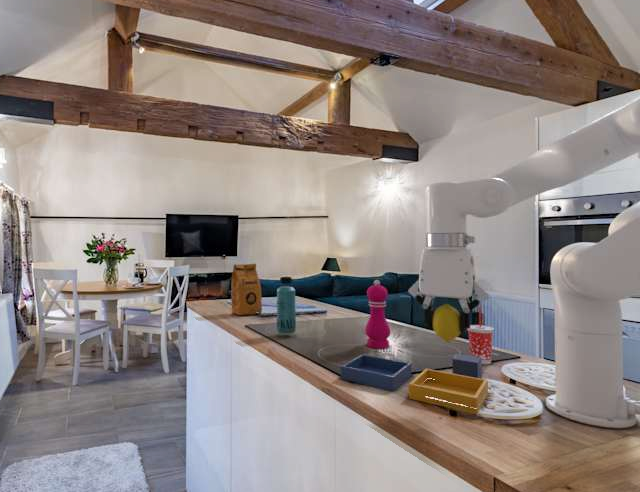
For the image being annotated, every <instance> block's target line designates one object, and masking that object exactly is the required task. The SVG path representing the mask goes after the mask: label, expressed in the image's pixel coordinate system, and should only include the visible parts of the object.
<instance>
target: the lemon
mask: <svg viewBox="0 0 640 492" xmlns="http://www.w3.org/2000/svg"><path fill="white" fill-rule="evenodd" d="M432 325H433V327H432V329H433V331H434V333H435V335H436V336H437V337H439V338H440V339H442V340H443V341H444V342H445V343H450V342H451V341H452V340H454V339H457V338H458V337H459V336H460V335H461V333H462V332H460V312H459V311H458V310H457V308H455V307H453V306H452V305H450V304H448V303H444V304H443V305H440V306H438V307H437V308H435V312H434V314H433V319H432Z"/></svg>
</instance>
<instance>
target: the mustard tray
mask: <svg viewBox="0 0 640 492" xmlns="http://www.w3.org/2000/svg"><path fill="white" fill-rule="evenodd" d="M427 378H432V379H427ZM426 379H427V380H426ZM433 379H435V380H433ZM425 380H426V381H425ZM424 381H425V382H424ZM423 382H424V383H423ZM422 383H423V384H422ZM421 384H422V385H421ZM488 395H489V380H488V379H483V378H482V379H479V378H474V377H468V376H463V375H458V374H453V372H446V371H440V370H436V369H431V368H425V369H424V370H423V371H421V373H419V374H418V375H417V376H416V377H414V379H413V380H411V381H410V382H409V383H408V399H410V400H415V401H418V402H423V403H427V404H431V405H435V406H439V407H444V408H449V409H452V410H457V411H461V412H465V413H469V414H472V415H473V414H474V415H478V413H479V412H480V410H481V408H482V406H483V404H484V403H485V401H486V399H487V397H488ZM425 396H428V397H434V398H438V399H442V400H446V401H448V402H452V403H458V404H463V405H466V406H470V407H474V408H477V407H478V408H477V409H474V408H470V407H465V406H461V405H456V404H452V403H448V402H443V401H439V400H435V399H430V398H426V397H425ZM483 397H484V398H483ZM480 402H481V403H480ZM479 404H480V405H479Z"/></svg>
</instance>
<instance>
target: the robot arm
mask: <svg viewBox="0 0 640 492" xmlns="http://www.w3.org/2000/svg"><path fill="white" fill-rule="evenodd" d="M639 153H640V96H639V97H637V98H635V99H633V100H631V101H630V102H628V103H627V104H625V105H623V106H621V107H619V108H617V109H615V110H613V111H611V112H609V113H607V114H605V115H603V116H601V117H599V118H598V119H595V120H594V121H592V122H589V123H587V124H585V125H583V126H581V127H579V128H578V129H576V130H573V131H571V132H569V133H567V134H565V135H563V136H561V137H559V138H557V139H555V140H553V141H551V142H550V143H547V144H546V145H544V146H542V147H541V148H540V149H538V150H536V151H535V152H534V153H532V154H531V155H529V156H528V157H526V158H525V159H523V160H521V161H519V162H518V163H516V164H513V165H512V166H510V167H508V168H507V169H504V170H502V171H501V172H499V173H496V174H495V175H492V176H490V177H486V178H485V177H484V178H480V179H475V180H468V181H462V182H461V181H460V182H458V181H444V182H443V181H441V182H434V183H430V184H429V185H427V187H426V188H425V193H424V195H425V197H424V200H425V201H424V203H425V205H424V206H425V248H422V250H421V251H422V252H421V257H420V264H419V273H418V274H419V275H418V277H419V278H418V279H417V280H416V281H415V282H414V283H413V284H412V285H411V286H410V288H408V289H407V292H408V293H409V294H410V295H411V296H412V297H413V298H414V299H415V300H416V301H417V302H418V304H420V305H421V307H422V308H423V310H424V323H425V324H426V328H427V329H433V325H432V319H433V314H434V312H435V310H436V308H434V306H433V305H434V304H433V303H434V302H435V299H436V297H437V298H451V299H458V302H459V304H460V307H461V312H459V314H460V332H461V333H462V334H465V333H466V332H468V330H467V328H470V325H471V312H472V311H473V310H474V309H475V308H477V307H478V306H479V305H480V304H482V303H484V301H486V300H488V299H489V298H490V294H489V293H488V292H487V290H485V289H484V288H483V287H482V286H481V285H480V284H479V282H477V279H476V268H475V261H474V260H475V259H474V256H473V255H474V254H473V250H472V249H471V248H468V245H470V244H475V242H476V239H475V238H476V237H475V236H471V235H468V233H467V215H471V216H473V217H475V218H479V219H480V218H481V219H485V218H491V217H496V216H499V215H502V214H503V213H505V212H507V211H508V209H509V208H511V207H514V206H516V205H518V204H519V203H522V202H524V201H526V200H529V199H531V198H533V197H536V196H538V195H540V194H543V193H546V192H548V191H552V190H556V189H557V188H558V189H560V188H561V187H565V186H568V185H570V184H573V183H574V182H577V181H580V180H582V179H584V178H586V177H588V176H590V175H593V174H594V173H596V172H599V171H601V170H603V169H605V168H607V167H609V166H612V165H615V164H616V163H618V162H621V161H622V160H623V161H624V160H626V159H627V158H630V157H632V156H633V155H636V154H639ZM607 233H608V235H607V236H606V237H604V238H603V239H601V240H600V241H597V242H590V241H589V242H587V241H585V242H575V243H571V244H568V245H566V246H564V247H562V248H561V249H559V250H558V251H557V252H556V253H555V255H554V256H553V257H552V259H551V263H550V267H549V270H550V271H549V274H550V285H551V289H552V296H553V308H554V310H553V311H554V365H555V366H554V367H555V368H554V373H555V374H554V375H555V377H554V378H555V393H554V394H550V395H549V396H547V397H546V398H545V406H546V407H547V408H548V409H549V410H550V411H552V412H553V413H555V414H557V415H558V416H561V417H563V418H566V419H567V420H570V421H575V422H579V423H582V424H585V425H589V426H594V427H601V428H608V429H609V428H610V429H611V428H612V429H627V428H630V427H634V426H635V425H636V423H637V417H636V415H640V400H634V399H631V397H627V394H626V391H625V390H624V361H623V359H624V358H623V356H624V355H623V354H624V351H623V350H624V349H623V332H624V331H623V316H622V315H623V313H622V307H621V303H620V301H622V300H625V299H629V298H632V297H634V296H637V295H638V294H640V200H639V201H638V202H636V203H634V204H633V205H630V207H628V208H626V209H624V210H623V211H621V212H620V213H619V214H618V215H616V216H615V218H614V219H613V220H612V221H611V223H610V225H609V227H608V232H607ZM476 294H477V297H475V298H474V299H473V300H472V301H470V299H469V298H471V297H472V296H474V295H476Z"/></svg>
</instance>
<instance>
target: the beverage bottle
mask: <svg viewBox="0 0 640 492" xmlns="http://www.w3.org/2000/svg"><path fill="white" fill-rule="evenodd" d="M279 283H280V284H282V286H279V287H278V288H277V289H276V331H277V333H279V334H288V335H289V334H294V333H296V329H297V325H296V323H297V321H296V320H297V315H296V314H297V312H296V311H297V310H296V289H295V288H294V287H293V286H289V284H293V278H292V276H281V277H280V278H279ZM287 284H288V286H287ZM285 285H286V286H285Z"/></svg>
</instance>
